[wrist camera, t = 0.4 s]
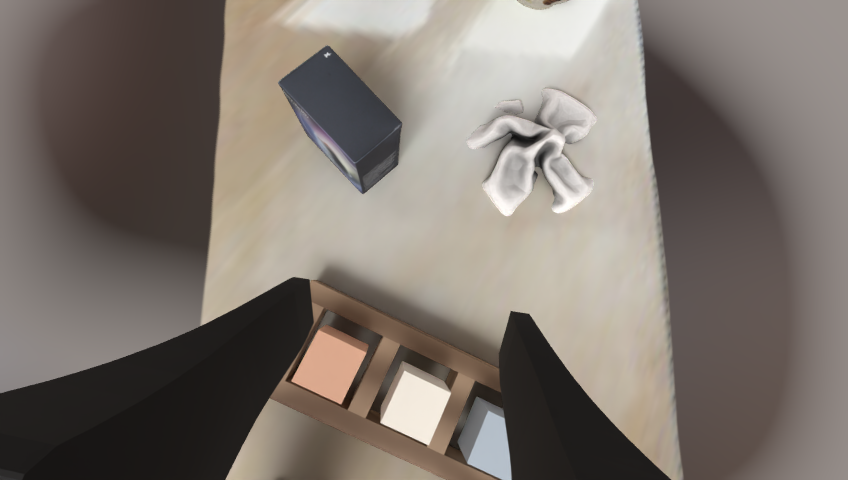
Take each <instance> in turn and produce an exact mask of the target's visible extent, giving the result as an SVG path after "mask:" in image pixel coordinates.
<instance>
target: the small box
mask: <svg viewBox="0 0 848 480" xmlns="http://www.w3.org/2000/svg"><path fill="white" fill-rule="evenodd" d="M278 84H279V85H280V87H281V88H282V90H283V92H284V94H285V96H286V98H287V99H288V101H289V103H290V105H291V107H292V108H293V110H294V112H295V114H296V116H297V117H298V119H299V121H300V123H301V125H302V127H303V128H304V130H305V132H306V134H307V135H308V137H309V138H310V139H311V140H312V141H313V142H314V143H315V144H316V145H317V146H318V147H319V148H320V149H321V151H322V152H323V153H324V154H325V155H326V156H327V157H328V158H329V159H330V160H331V161H332V162H333V163H334V165H335V166H336V167H337V168H338V169H339V170H340V171H341V172H342V173H343V174H344V175H345V176H346V177H347V178H348V179H349V180H350V182H351V183H352V184H353V185H354V186H355V187H356V188H357V189H358V190H359V191H360V192H361V193H362V194H364V193H365V192H366V191H368V190H369V189H370V188H371V187H372V186H374V185H375V184H376V183H377V182H378V181H379V180H381V179H382V178H383V177H384V176H385V175H386V174H388V173H389V172H390V171H391V170H392V169H393V168H395V167H396V166H397V165H398V155H399V143H400V132H401V127H402V122H401V121H400V120H399V119H398V118H397V117H396V116H395V115H394V114H393V113H392V112H391V111H390V110H389V109H388V108H387V107H386V105H385V104H384V103H383V102H382V101H381V100H380V99H379V98H378V97H377V96H376V95H375V94H374V93H373V92H372V91H371V90H370V89H369V87H368V86H367V85H366V84H365V83H364V82H363V81H362V80H361V79H360V78H359V77H358V76H357V75H356V74H355V73H354V72H353V71H352V70H351V68H350V67H349V66H348V65H347V64H346V63H345V62H344V61H343V60H342V59H341V58H340V57H339V56H338V55H337V54H336V53H335V52H334V51H333V50H332V49H331V47H330V46H328V45H327V46H325V47H324V48H322V49H321V50H320V51H319V52H317V53H316V54H314V55H313V56H312V57H310V58H309V59H308V60H306V61H305V62H304V63H302V64H301V65H300V66H298V67H297V68H296V69H294V70H293V71H292V72H290V73H289V74H287V75H286V76H285V77H284V78H282V79H281V80H280V81H279V82H278Z"/></svg>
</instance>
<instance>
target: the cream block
mask: <svg viewBox="0 0 848 480" xmlns="http://www.w3.org/2000/svg"><path fill="white" fill-rule="evenodd" d="M450 395H451V392H450V390H449V389H448V387H447V385H446V384H445V382H444V381H443V380H441V379H439V378H437V377H435V376H433V375H431V374H429V373H427V372H425V371H423V370H420V369H418V368H416V367H414V366H412V365H410V364H408V363H406V362H404V361H402V362H401V365H400V367H399V369H398V371H397V373H396V375H395V377H394V380H393V382H392V384H391V386H390V388H389V390H388V392H387V395H386V397H385V399H384V401H383V403H382V405H381V420H380V423H382V424H384V425H386V426H388V427H390V428H393V429H395V430H397V431H399V432H401V433H403V434H405V435H408V436H410V437H412V438H414V439H416V440H418V441H420V442H423V443H425V444H427V445H429V444H430V442H431V439H432V437H433V435H434V432H435V430H436V428H437V425H438V423H439V421H440V418H441V416H442V414H443V411H444V409H445V407H446V404H447V402H448V400H449V397H450Z"/></svg>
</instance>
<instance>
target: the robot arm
mask: <svg viewBox="0 0 848 480" xmlns="http://www.w3.org/2000/svg"><path fill="white" fill-rule="evenodd" d="M313 324H314V318H313V308H312V299H311V289H310V280H309V279H303V278H296V277H293V278H291V279H289V280H287V281H285V282H283V283H281V284H279V285H277V286H276V287H274V288H272V289H270V290H268V291H267V292H265V293H263V294H261V295H260V296H258V297H256V298H254V299H252V300H251V301H249V302H247V303H245V304H243V305H242V306H240V307H238V308H236V309H234V310H232V311H230V312H228V313H226V314H224V315H222V316H220V317H218V318H216V319H214V320H212V321H210V322H208V323H206V324H204V325H202V326H200V327H198V328H196V329H194V330H191V331H189V332H187V333H185V334H182V335H180V336H178V337H175V338H173V339H170V340H168V341H166V342H163V343H161V344H158V345H156V346H153V347H150V348H147V349H145V350H142V351H139V352H137V353H134V354H131V355H128V356H126V357H123V358H120V359H118V360H114V361H112V362H109V363H106V364H102V365H100V366H96V367H93V368H90V369H87V370H83V371H80V372H77V373H74V374H70V375H67V376H64V377H60V378H57V379H53V380H50V381H46V382H42V383H38V384H35V385H30V386H27V387H23V388H20V389H16V390H11V391H7V392H4V393H0V480H225V479H226V477H227V475H228V473H229V471H230V469H231V467H232V465H233V463H234V461H235V459H236V457H237V455H238V453H239V451H240V449H241V447H242V445H243V443H244V442H245V440H246V438H247V436H248V434H249V432H250V430H251V428H252V426H253V425H254V423H255V421H256V419H257V417H258V416H259V414H260V412H261V411H262V409H263V407H264V406H265V404H266V402H267V401H268V399H269V398H270V396H271V395H272V393H273V392H274V390H275V389H276V387H277V386H278V384H279V383H280V381H281V380H282V378H283V376H284V375H285V373H286V372H287V370H288V369H289V367H290V366H291V364H292V363H293V361H294V360H295V358H296V356H297V355H298V353H299V352H300V350H301V349H302V347H303V345H304V343H305V341H306V339H307V337H308V335H309V332H310V330H311V328H312V326H313ZM499 377H500V389H501V397H502V404H503V411H504V418H505V425H506V432H507V440H508V447H509V454H510V464H511V480H671V479H670V478H669V477H668V476H667V475H665V474H664V473H663V472H662V471H661V470H660V469H659V468H658V467H657V466H656V465H654V464H653V463H652V462H651V461H650V460H649V459H648V458H647V457H646V456H645V455H644V454H643V453H642V452H641V451H640V450H639V449H638V448H637V447H636V446H635V445H634V444H633V443H632V442H631V441H630V440H629V439H628V438H627V437H626V436H625V435H624V434H623V433H622V432H621V431H620V430H619V429H618V428H617V427H616V426H615V425H614V424H613V423H612V422H611V421H610V420H609V419H608V417H607V416H606V415H605V414H604V413H603V412H602V411H601V410H600V409H599V408H598V407H597V405H596V404H595V403H594V402H593V401H592V400H591V398H590V397H589V396H588V395H587V394H586V393H585V391H584V390H583V389H582V388H581V386H580V385H579V384H578V383H577V381H576V380H575V379H574V378H573V376H572V375H571V374H570V372H569V371H568V370H567V368H566V367H565V366H564V364H563V363H562V361H561V360H560V359H559V357H558V356H557V355H556V353H555V352H554V350H553V349H552V347H551V346H550V344H549V343H548V342H547V340H546V339H545V337H544V336H543V334H542V333H541V331H540V329H539V328H538V326H537V325H536V323H535V322H534V320H533V319H532V317H531V316H530V315H529V314H526V313H520V312H513V311H511V313H510V316H509V320H508V323H507V327H506V331H505V334H504V338H503V342H502V345H501V349H500V352H499Z"/></svg>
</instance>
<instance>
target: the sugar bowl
mask: <svg viewBox="0 0 848 480" xmlns="http://www.w3.org/2000/svg"><path fill="white" fill-rule="evenodd" d="M517 1H518V2H520V3H521V4H523V5H524V6H527V7H529V8H532V9H547V8H549V7H551V6H553V5H556V4H559V3H563V2H566V1H569V0H517Z"/></svg>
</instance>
